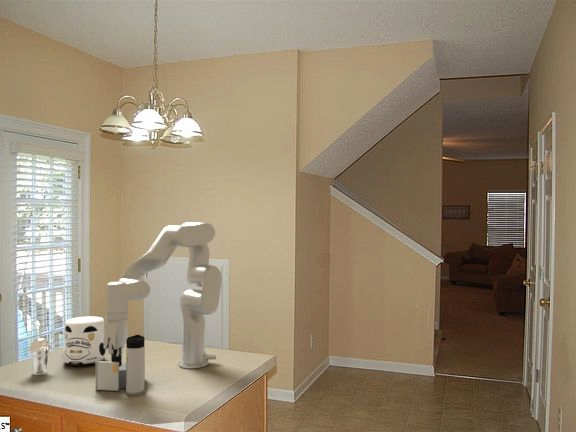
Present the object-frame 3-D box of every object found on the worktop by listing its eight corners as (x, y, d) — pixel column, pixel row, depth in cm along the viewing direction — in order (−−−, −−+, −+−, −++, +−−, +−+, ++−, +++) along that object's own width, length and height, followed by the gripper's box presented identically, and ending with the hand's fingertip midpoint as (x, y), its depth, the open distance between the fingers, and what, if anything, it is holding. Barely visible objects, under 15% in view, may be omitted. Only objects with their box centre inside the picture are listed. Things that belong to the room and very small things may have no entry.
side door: (119, 390, 180) (119, 361, 180) (117, 392, 179) (117, 363, 179) (96, 389, 182) (96, 360, 181) (94, 390, 180) (94, 361, 180)
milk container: (66, 371, 202) (66, 326, 201) (59, 360, 216) (59, 318, 216) (111, 364, 211) (111, 321, 211) (101, 354, 226) (101, 314, 225)
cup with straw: (28, 377, 194) (28, 326, 193) (27, 371, 201) (27, 321, 201) (52, 374, 198) (52, 323, 198) (50, 368, 206) (50, 319, 205)
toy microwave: (144, 379, 193) (144, 360, 193) (143, 387, 184) (143, 367, 184) (100, 382, 190) (100, 362, 189) (97, 390, 181) (97, 370, 181)
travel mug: (146, 389, 183) (146, 334, 182) (141, 396, 176) (142, 339, 176) (129, 389, 182) (129, 334, 182) (123, 396, 176) (124, 339, 175)
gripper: (116, 311, 190) (116, 359, 191) (96, 320, 176) (96, 372, 176) (135, 312, 189) (135, 360, 190) (116, 321, 175) (116, 373, 175)
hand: (116, 366), depth 183 cm, fingers closed
